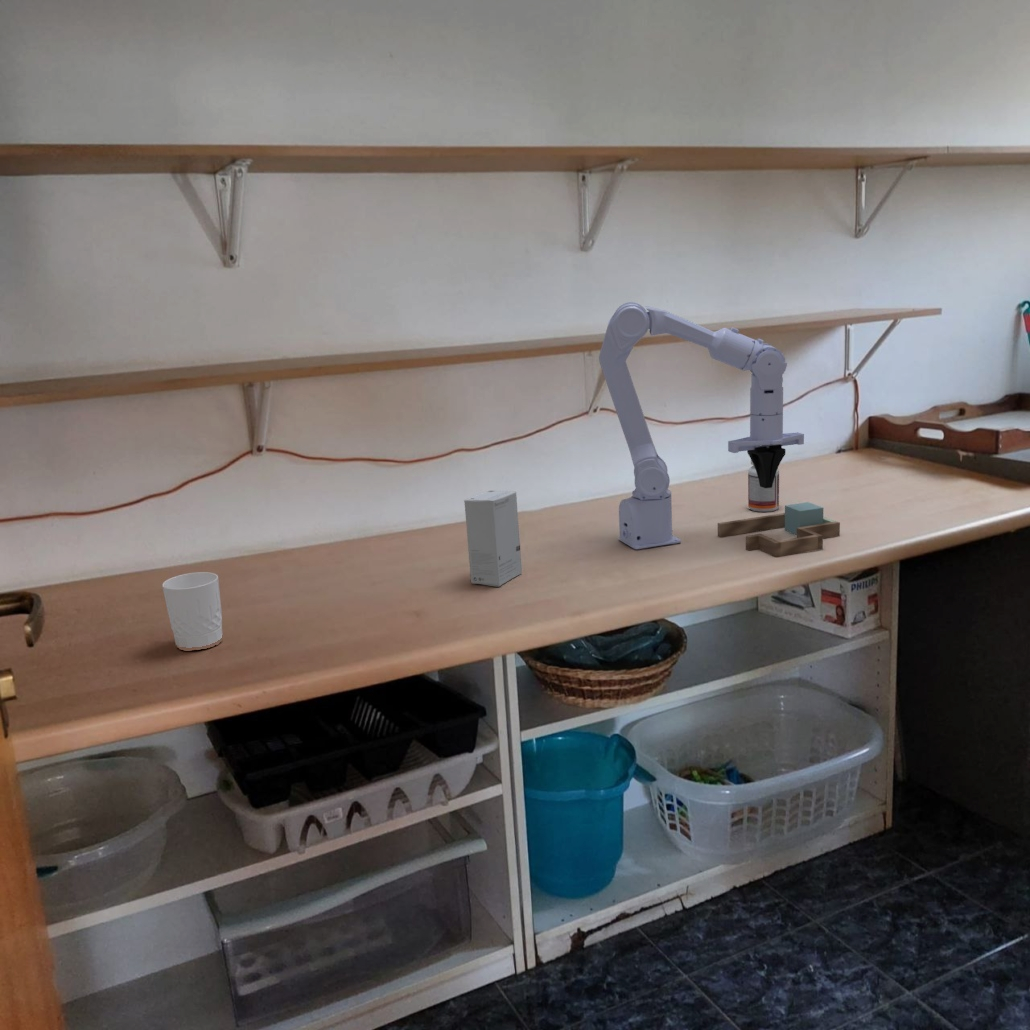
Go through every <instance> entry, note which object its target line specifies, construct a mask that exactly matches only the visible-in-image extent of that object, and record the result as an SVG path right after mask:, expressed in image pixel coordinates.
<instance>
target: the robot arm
mask: <svg viewBox="0 0 1030 1030" xmlns="http://www.w3.org/2000/svg"><path fill="white" fill-rule="evenodd" d="M645 308H646V309H645ZM645 308H644V307H643V306H642V305H641V304H640V303H638V302H633V301H631V302H625V303H623V304H620V306H619V307H617V308H616V310H615V312H614V313H613V315H612V316H611V318H610V319H609V321H608V323H607V326H606V327H607V328H606V331H605V334H604V338H603V341H602V345H601V347H600V352H599V355H598V361H599V365H600V368H601V370H602V373H603V377H604V379H605V383H606V385H607V388H608V391H609V394H610V397H611V400H612V402H613V406H614V409H615V412H616V415H617V417H618V420H619V424H620V427H621V429H622V433H623V435H624V438H625V441H626V444H627V447H628V450H629V453H630V458H631V460H632V464H633V466H634V469H633V475H634V487H635V489H634V490H632V493H631V496H630V497H627V498H625V499H622V500H621V501H620V503H619V505H618V523H619V525H618V526H619V536H618V537H617V538H618V540H619V541H620V542H622V543H624V544H625V545H628V546H629V547H631V548H632V549H634V550H640V549H641V550H642V549H648V548H655V547H660V546H667V545H673V544H678V543H679V544H680V543H682V540H681V539H680V538H679V537H676V536H674V535H673V518H672V517H673V514H672V513H673V512H672V511H673V510H672V509H673V508H672V507H673V505H672V491H671V490H670V489H669V486H670V475H669V473H668V466H667V464H666V462H665V461H664V460H663V458H661V457H660V456H659V455H658V453H657V449H656V447H655V445H654V441H653V439H652V436H651V432H650V430H649V427H648V424H647V421H646V417H645V415H644V412H643V409H642V406H641V404H640V401H639V400H640V399H639V397H638V394H637V391H636V387H635V385H634V382H633V379H632V376H631V373H630V370H629V367H628V364H627V359H628V358H629V356H630V354H631V352H632V350H633V348H634V347H635V345H636V344H637V343H639V341H640V340H642V338H643V337H645V335H646V334H647V332H648V331H649V335H650V336H657V335H662V334H668V335H671V336H674V337H677V338H679V339H682V340H685V341H687V342H690V343H693V344H696V345H698V346H701V347H703V348H707V350H708V353H709V355H710V357H711V359H713V360H716V361H719V362H720V363H724V364H726V365H728V366H731V367H733V368H735V369H739V370H741V371H743V372H745V371H749V372H751V376H750V377H751V384H750V385H751V387H750V392H749V393H750V394H749V396H750V397H749V398H750V399H749V403H750V404H749V405H750V406H749V431H750V432H749V436H747V437H742V438H738V439H734V440H728V441H727V443H728V444H727V449H728V450H727V452H728V453H733V454H739V453H740V452H746V451H747V455H748V457H749V458H750V461H751V460H752V462H753V464H754V466H755V469H756V472H757V475H758V479H759V484H760V487H763V488H772V485H773V481H774V478H775V474H776V471H777V469H779V466H780V464H781V462H782V460H783V458H784V457H785V455H786V448H783V447H785V446H792V445H793V446H794V445H798V446H799V445H801V446H802V445H804V444H805V434H804V433H802V432H789V433H787V432H786V433H784V432H783V431H784V430H783V429H784V387H783V382H784V378H783V374H785V371H786V369H787V366H788V363H787V362H786V358H785V355H784V354H783V352H782V351H780V350H779V349H778V348H777V347H774V346H772V345H771V344H770V343H765V341H764V340H763V339H761V338H757V339H754V338H751V337H750V336H746V335H744V334H742V333H739V332H740V330H739V329H738V328H736V327H730V329H729V328H727V327H723V328H720V329H718V330H716V331H714V330H711V329H708V328H706V327H704V326H702V325H700V324H698V323H694V322H693V321H691V320H688V319H685V318H683V317H682V316H679V315H677V314H674V313H672V312H670V311H667V310H663V309H660V308H656V307H651V306H646V305H645Z"/></svg>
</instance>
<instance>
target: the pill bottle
mask: <svg viewBox="0 0 1030 1030" xmlns="http://www.w3.org/2000/svg"><path fill="white" fill-rule="evenodd" d="M750 465H752V466H750V467H749V469H748V470H747V471H748V472H747V473H748V475H747V477H748V479H747V481H748V484H747V485H748V496H747V497H748V498H747V501H748V502H747V503H748V509H749V510H750V511H754V512H760V513H767V512H768V513H769V512H774V511H777V510H778V509H779V507H780V469H779V468H778V469H777V471H776V474H775V478H774V481H773V485H772V488H763V487H760V484H759V479H758V475H757V472H756V469H755V466H754V464H753V462H752V460H751V459H750Z"/></svg>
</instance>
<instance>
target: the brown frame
mask: <svg viewBox="0 0 1030 1030" xmlns="http://www.w3.org/2000/svg"><path fill="white" fill-rule="evenodd" d="M835 521H836V520H835ZM780 528H785V512H783V513H782V512H781V513H775V514H769V515H763V516H756V517H751V518H743V519H736V520H730V521H723V522H718V523H717V537H719V538H724V537H725V538H726V537H731V536H736V535H743V534H749V533H755V534H749V535H745V550H746V551H749V552H750V551H755V550H760V551H762V552H764V553H766V554H768V555H770V556H773V557H775V558H778V557H784V556H789V555H790V556H791V555H794V554H796V555H797V554H801V553H802V554H803V553H807V552H812V551H814V552H815V551H818V550H819V551H821V550H823V549H824V547H823V545H824V539H828V538H834V537H840V534H841V533H840V532H841V522H839V521H836V522H830V523H823V524H817V525H811V526H805V527H798V528H797V536H796V537H794V538H787V539H782V540H776V539H774V538H771V537H769V536H767V535H765V534H762V533H758V532H762V531H767V530H775V529H780ZM756 532H757V534H756Z"/></svg>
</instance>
